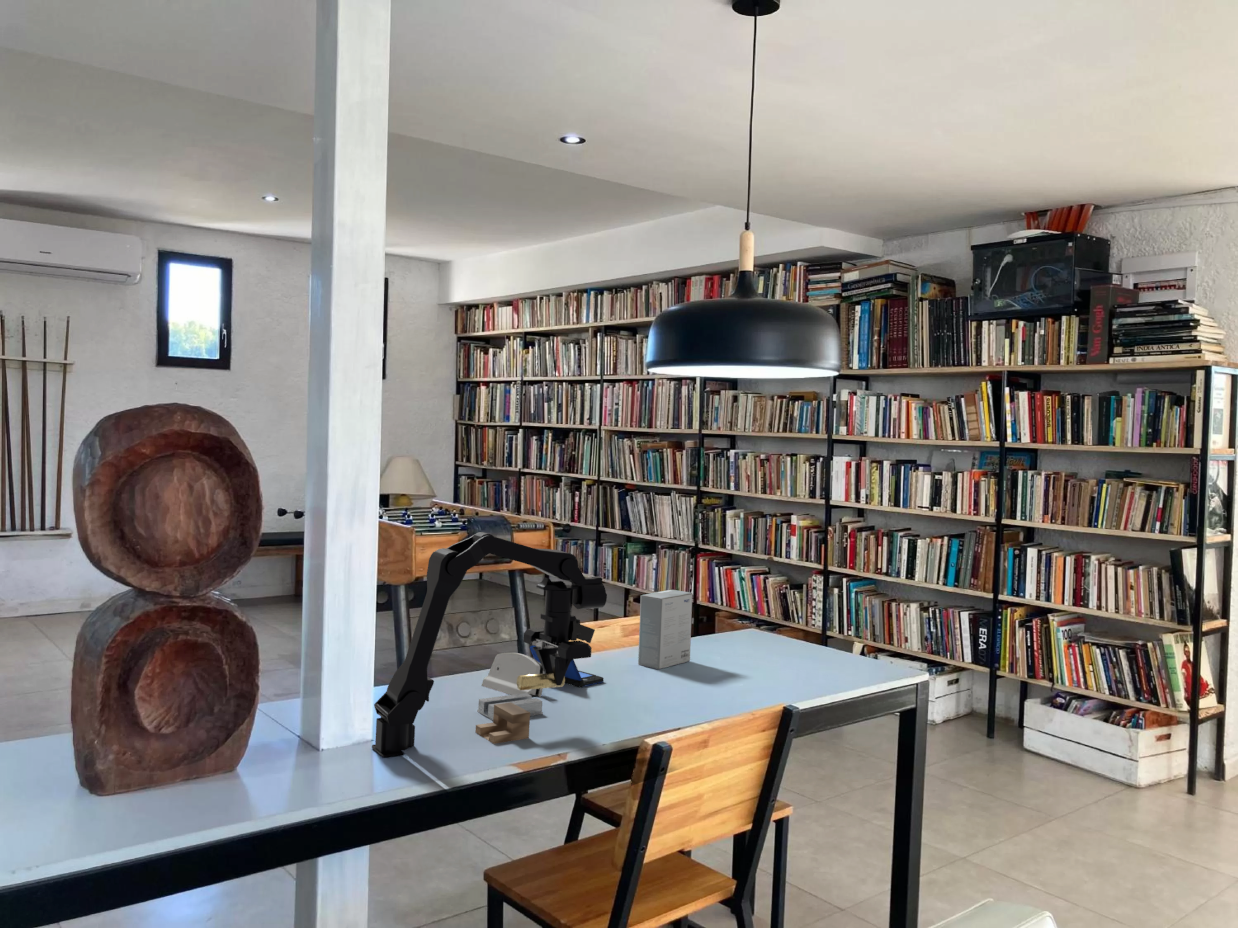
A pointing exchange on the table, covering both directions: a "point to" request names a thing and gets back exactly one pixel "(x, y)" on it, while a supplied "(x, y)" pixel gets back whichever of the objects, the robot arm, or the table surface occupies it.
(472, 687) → the table surface
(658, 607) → the hard drive box
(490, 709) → the v block
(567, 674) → the handheld game console
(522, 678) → the axle
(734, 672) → the table surface
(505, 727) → the brown notched block
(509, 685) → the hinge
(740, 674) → the table surface
